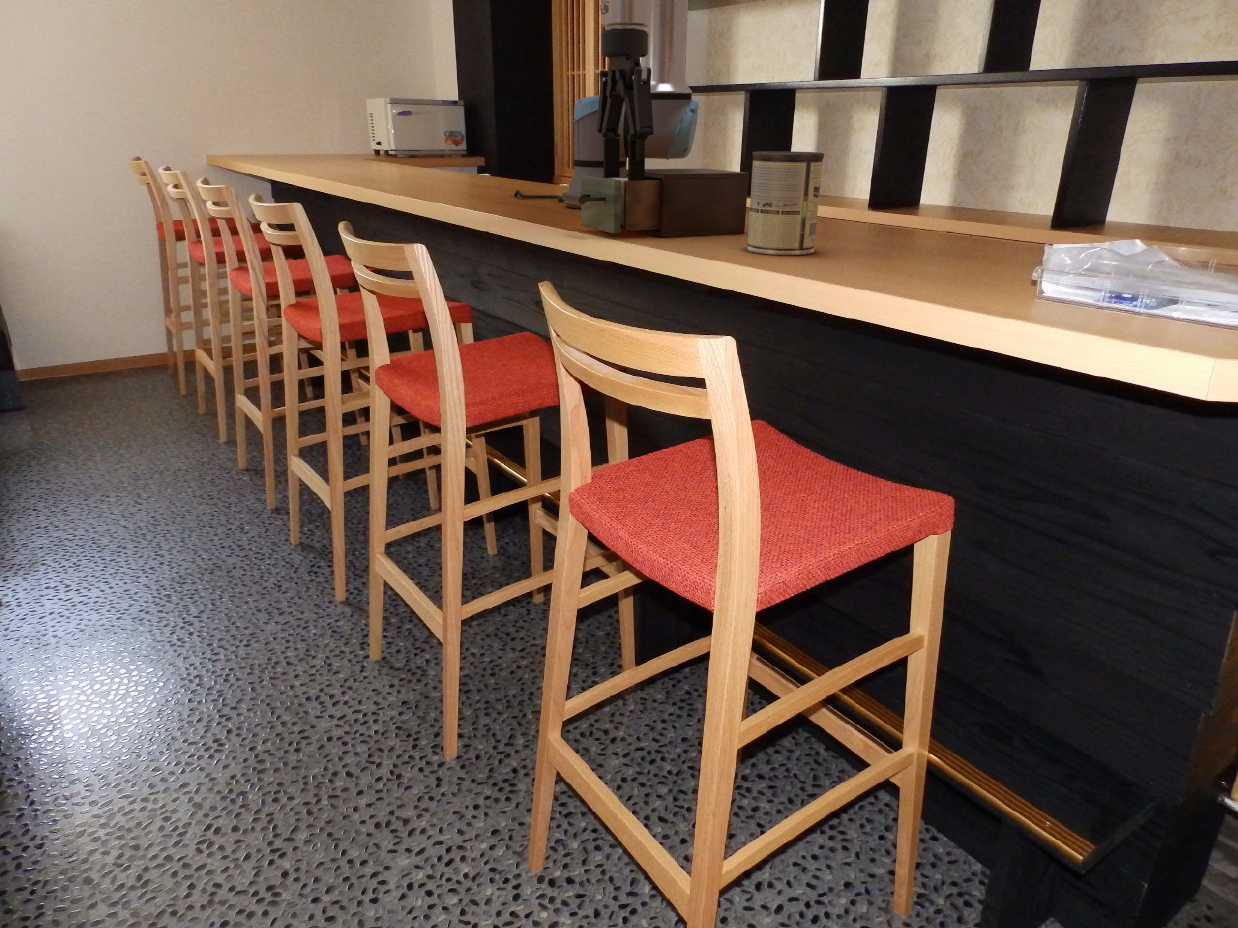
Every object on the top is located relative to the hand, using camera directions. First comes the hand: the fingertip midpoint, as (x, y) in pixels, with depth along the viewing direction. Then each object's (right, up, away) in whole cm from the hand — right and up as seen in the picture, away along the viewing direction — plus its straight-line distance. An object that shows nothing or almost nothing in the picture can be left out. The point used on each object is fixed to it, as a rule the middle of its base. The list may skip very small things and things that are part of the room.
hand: (623, 180), depth 141 cm
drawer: (0, -7, +3) cm, 8 cm away
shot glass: (0, -7, +2) cm, 7 cm away
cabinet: (+11, -6, +8) cm, 15 cm away
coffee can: (+24, -16, -13) cm, 31 cm away
